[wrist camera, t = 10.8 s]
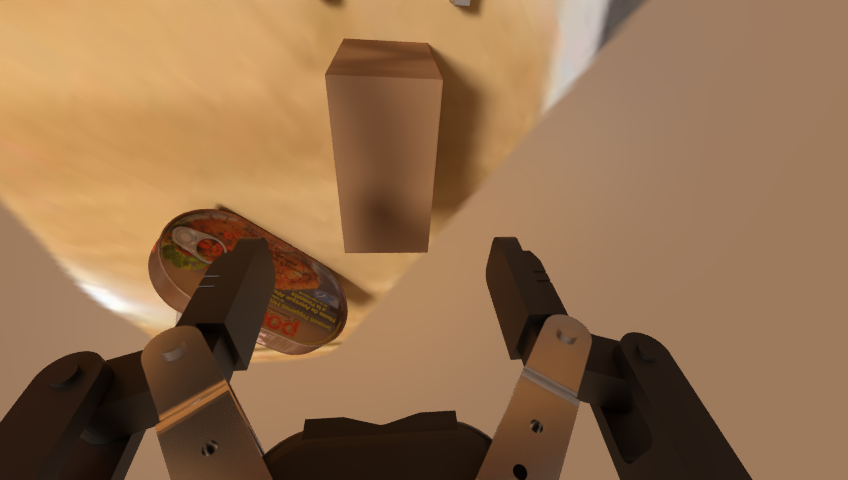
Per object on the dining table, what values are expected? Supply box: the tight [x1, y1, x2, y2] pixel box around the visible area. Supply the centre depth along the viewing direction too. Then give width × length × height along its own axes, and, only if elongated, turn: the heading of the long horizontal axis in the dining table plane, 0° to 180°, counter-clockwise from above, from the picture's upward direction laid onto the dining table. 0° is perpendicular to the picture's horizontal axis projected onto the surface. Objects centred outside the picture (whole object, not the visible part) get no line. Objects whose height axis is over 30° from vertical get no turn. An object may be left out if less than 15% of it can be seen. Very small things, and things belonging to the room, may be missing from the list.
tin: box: [148, 209, 348, 355], centre depth 27 cm, size 15×3×8 cm, turn 43°
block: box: [325, 39, 443, 253], centre depth 21 cm, size 5×10×8 cm, turn 176°
